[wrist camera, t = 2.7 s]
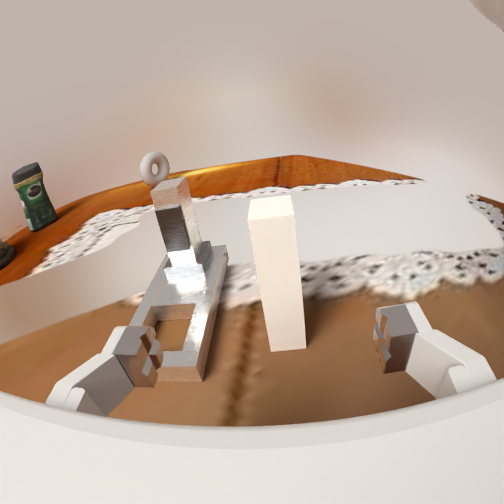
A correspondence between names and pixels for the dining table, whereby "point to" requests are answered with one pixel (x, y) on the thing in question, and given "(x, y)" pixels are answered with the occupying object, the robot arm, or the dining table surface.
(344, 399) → the dining table surface
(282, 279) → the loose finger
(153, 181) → the donut
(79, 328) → the dining table surface
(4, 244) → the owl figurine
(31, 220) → the coffee jar
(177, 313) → the steel rail
